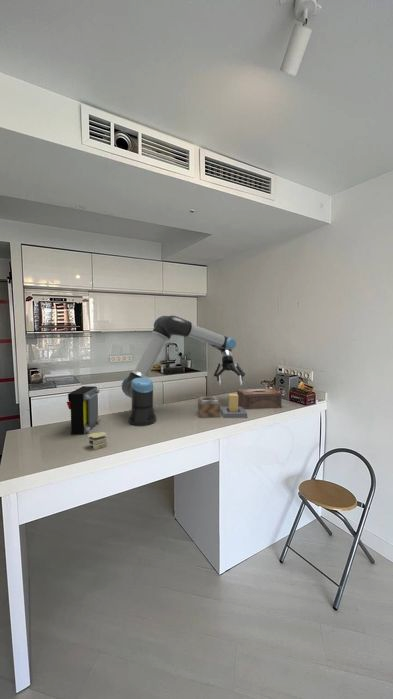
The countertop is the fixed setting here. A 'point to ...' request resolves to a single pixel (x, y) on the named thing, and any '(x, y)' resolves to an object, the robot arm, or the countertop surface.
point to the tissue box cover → (259, 398)
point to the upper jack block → (208, 407)
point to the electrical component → (83, 409)
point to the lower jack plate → (233, 413)
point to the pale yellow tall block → (233, 403)
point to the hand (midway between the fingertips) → (230, 384)
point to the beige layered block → (97, 440)
